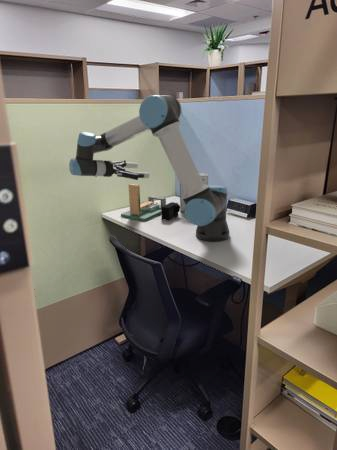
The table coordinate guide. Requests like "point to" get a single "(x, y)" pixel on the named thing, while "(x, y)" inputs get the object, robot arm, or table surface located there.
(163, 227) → the table surface
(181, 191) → the hard drive box
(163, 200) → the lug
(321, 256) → the table surface
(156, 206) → the heat sink
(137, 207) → the upright wooden plank
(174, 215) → the digital camera
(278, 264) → the table surface
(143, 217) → the circuit board
